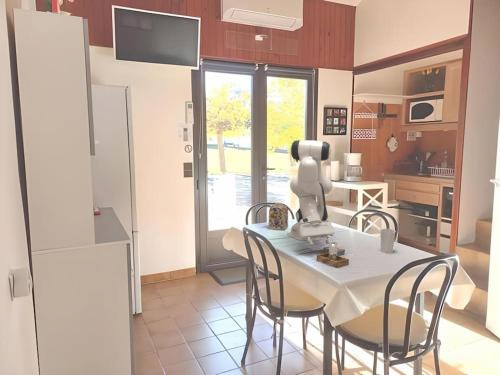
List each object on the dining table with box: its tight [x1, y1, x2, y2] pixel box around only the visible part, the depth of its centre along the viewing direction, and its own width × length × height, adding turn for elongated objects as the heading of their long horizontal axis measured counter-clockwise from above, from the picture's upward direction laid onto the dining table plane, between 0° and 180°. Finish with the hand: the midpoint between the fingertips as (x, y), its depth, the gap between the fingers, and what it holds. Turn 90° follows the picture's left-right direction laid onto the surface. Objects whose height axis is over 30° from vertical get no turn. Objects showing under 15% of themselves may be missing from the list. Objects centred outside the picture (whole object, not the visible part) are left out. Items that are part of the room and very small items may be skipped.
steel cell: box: [328, 241, 338, 261], centre depth 188 cm, size 4×4×10 cm
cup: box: [379, 228, 397, 254], centre depth 208 cm, size 8×8×12 cm
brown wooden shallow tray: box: [316, 252, 350, 269], centre depth 188 cm, size 14×9×3 cm, turn 37°
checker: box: [322, 246, 346, 256], centre depth 204 cm, size 9×7×3 cm
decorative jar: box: [268, 202, 289, 231], centre depth 260 cm, size 12×12×18 cm
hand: (320, 244), depth 198 cm, fingers open, 8 cm apart
